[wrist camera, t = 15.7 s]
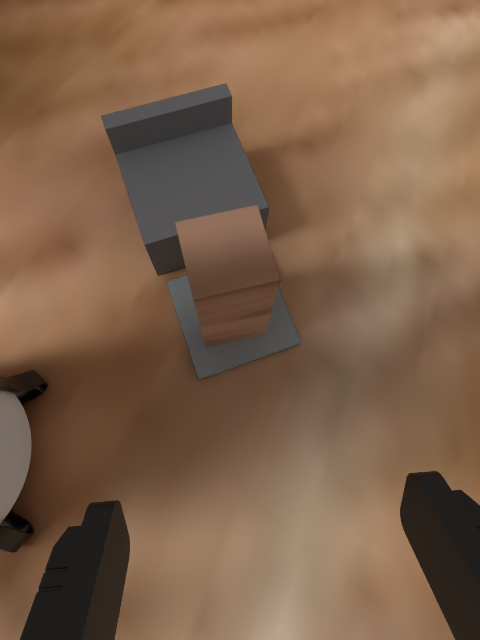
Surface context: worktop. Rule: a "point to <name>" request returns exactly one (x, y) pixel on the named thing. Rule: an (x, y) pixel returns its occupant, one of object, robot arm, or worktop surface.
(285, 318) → the slate-grey mat
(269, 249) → the wooden blank
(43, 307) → the worktop surface
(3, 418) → the coffee press
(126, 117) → the charcoal shelf
